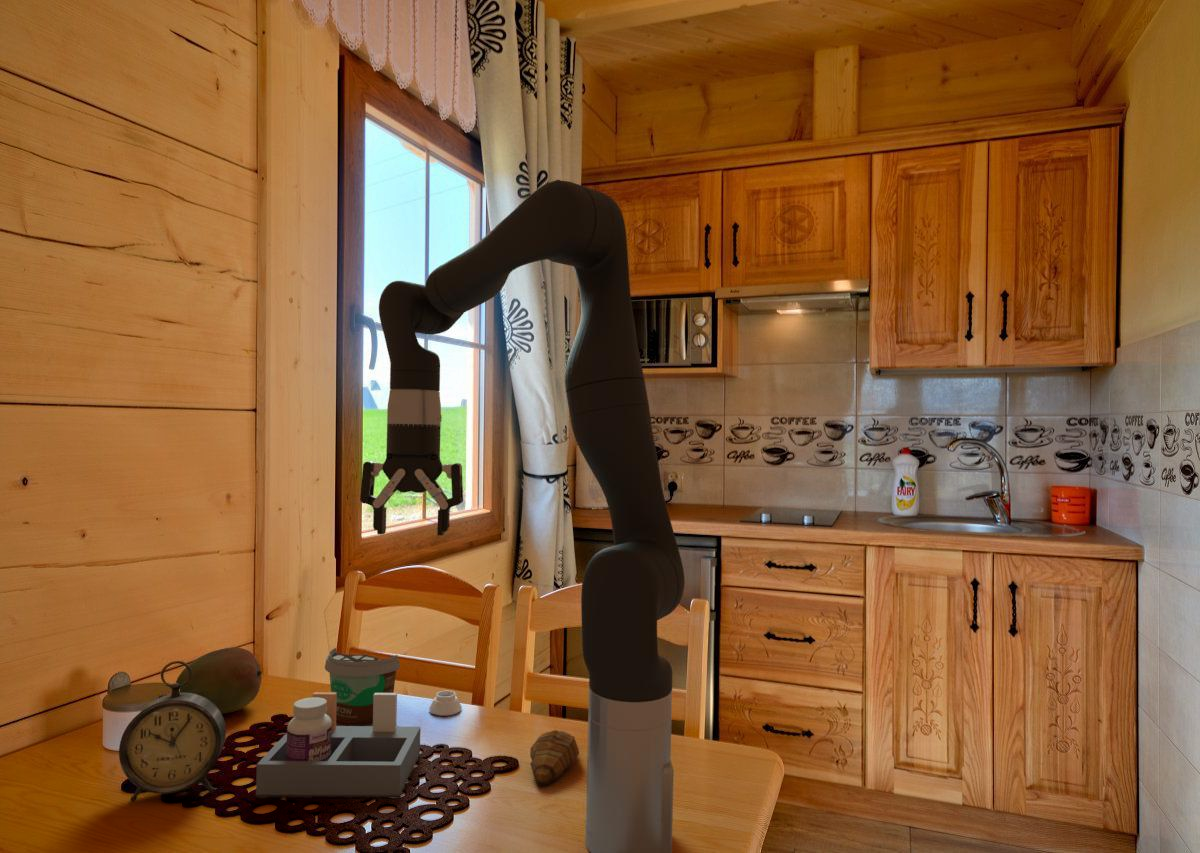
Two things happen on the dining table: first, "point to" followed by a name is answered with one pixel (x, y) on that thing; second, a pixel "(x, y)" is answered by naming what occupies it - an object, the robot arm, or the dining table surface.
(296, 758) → the pill bottle
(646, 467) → the robot arm
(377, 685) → the food container
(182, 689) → the fruit
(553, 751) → the croissant
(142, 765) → the alarm clock
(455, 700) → the white jar
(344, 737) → the grey divided tray
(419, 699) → the dining table surface
